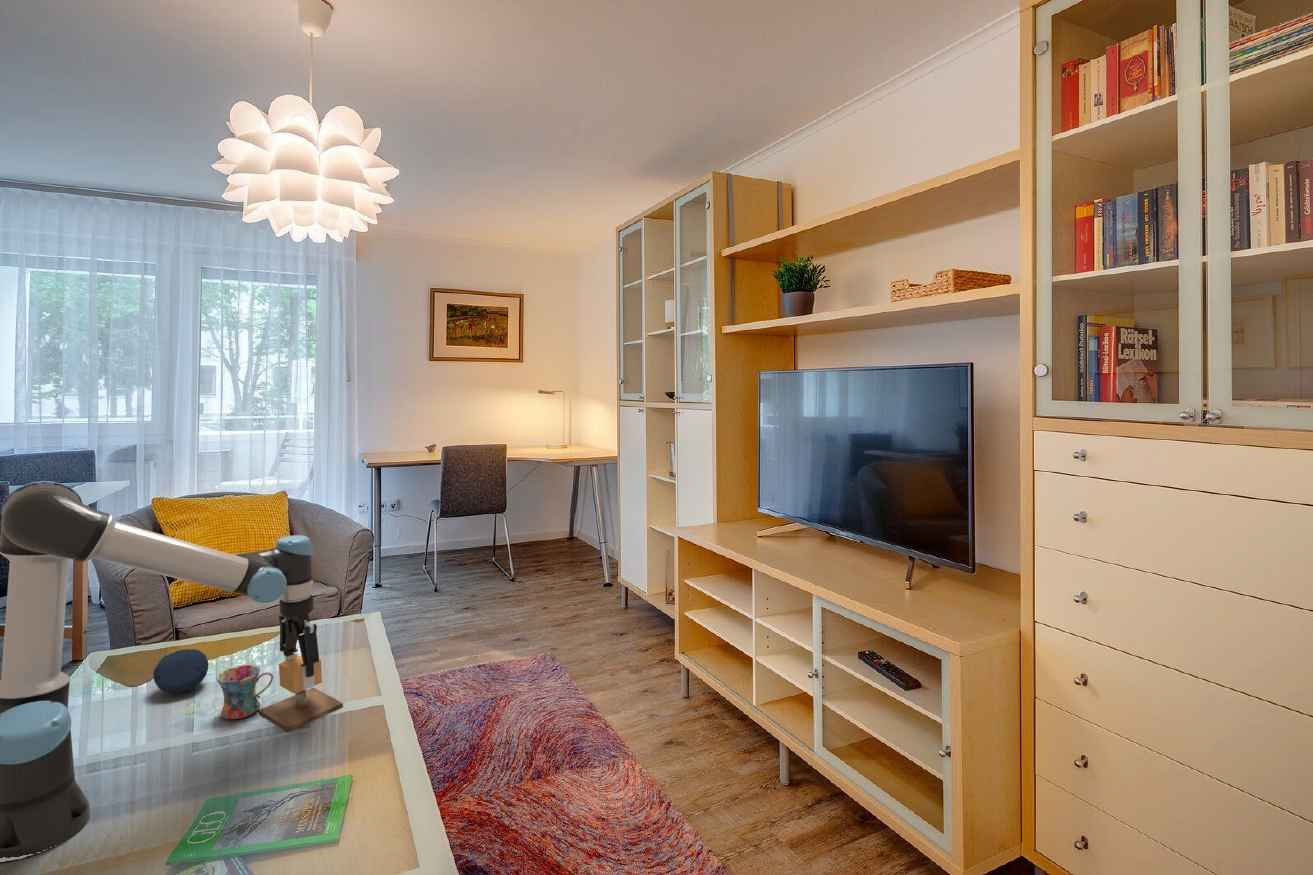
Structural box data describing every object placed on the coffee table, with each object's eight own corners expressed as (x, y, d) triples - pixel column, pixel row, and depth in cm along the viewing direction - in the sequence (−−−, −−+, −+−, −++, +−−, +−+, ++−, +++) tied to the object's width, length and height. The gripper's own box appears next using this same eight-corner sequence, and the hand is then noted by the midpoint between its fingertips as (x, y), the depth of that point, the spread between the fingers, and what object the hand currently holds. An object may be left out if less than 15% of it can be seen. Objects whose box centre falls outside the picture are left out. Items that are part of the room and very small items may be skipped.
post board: (287, 731, 155) (286, 709, 154) (259, 713, 162) (258, 692, 162) (342, 706, 167) (342, 686, 166) (313, 690, 174) (312, 671, 174)
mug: (217, 726, 156) (215, 685, 155) (219, 709, 164) (217, 669, 163) (274, 713, 163) (272, 673, 161) (274, 697, 170) (272, 659, 169)
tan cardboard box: (294, 693, 159) (293, 670, 158) (280, 685, 163) (278, 663, 162) (322, 682, 165) (320, 660, 164) (307, 674, 169) (306, 653, 168)
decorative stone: (153, 689, 174) (151, 654, 172) (206, 675, 181) (204, 642, 180) (156, 706, 165) (154, 669, 164) (212, 691, 173) (210, 656, 172)
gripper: (332, 601, 159) (336, 688, 161) (290, 585, 170) (294, 667, 172) (302, 610, 153) (306, 701, 155) (260, 593, 163) (265, 678, 166)
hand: (300, 683), depth 164 cm, fingers closed on tan cardboard box, 7 cm apart
